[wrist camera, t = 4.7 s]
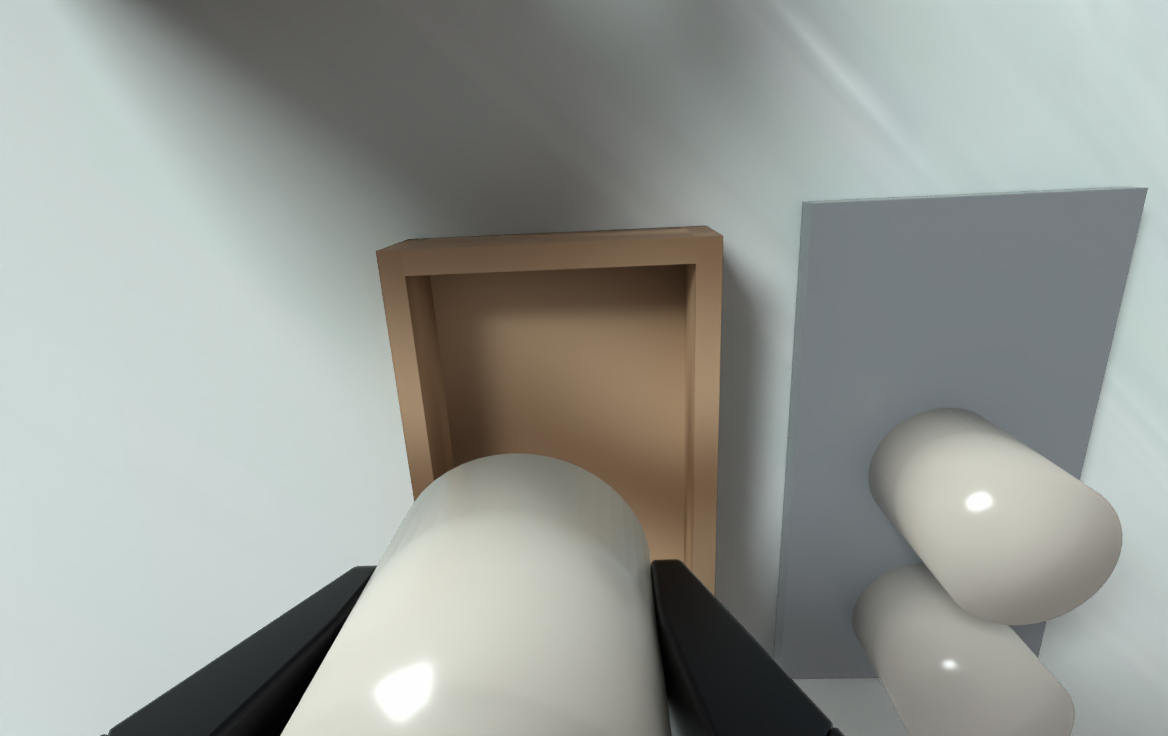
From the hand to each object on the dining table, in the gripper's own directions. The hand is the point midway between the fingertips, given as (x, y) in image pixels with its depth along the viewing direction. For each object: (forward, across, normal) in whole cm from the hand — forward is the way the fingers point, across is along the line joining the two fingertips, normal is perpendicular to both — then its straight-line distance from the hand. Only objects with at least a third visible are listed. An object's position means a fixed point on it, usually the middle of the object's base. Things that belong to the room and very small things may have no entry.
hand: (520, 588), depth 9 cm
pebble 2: (+8, -11, +3) cm, 14 cm away
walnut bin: (+9, 0, +3) cm, 10 cm away
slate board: (+9, -10, +3) cm, 14 cm away
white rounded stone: (+8, -11, +8) cm, 16 cm away
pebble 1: (0, 0, 0) cm, 0 cm away
